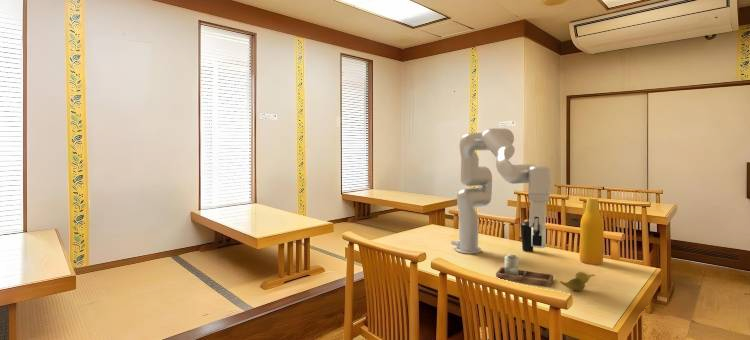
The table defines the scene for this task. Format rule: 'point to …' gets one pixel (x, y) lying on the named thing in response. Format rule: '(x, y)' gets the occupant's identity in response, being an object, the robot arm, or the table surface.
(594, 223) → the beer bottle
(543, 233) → the celadon canister
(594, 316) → the table surface
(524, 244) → the drinking cup
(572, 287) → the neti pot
